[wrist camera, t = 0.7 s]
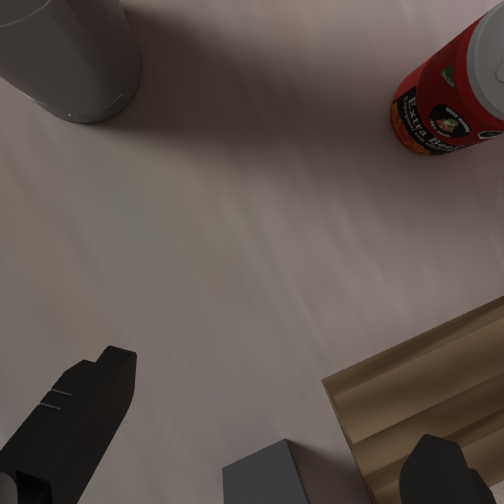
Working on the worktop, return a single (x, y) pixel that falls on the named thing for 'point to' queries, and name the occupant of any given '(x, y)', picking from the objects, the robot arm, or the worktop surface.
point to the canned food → (455, 92)
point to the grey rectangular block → (265, 478)
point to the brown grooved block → (426, 400)
